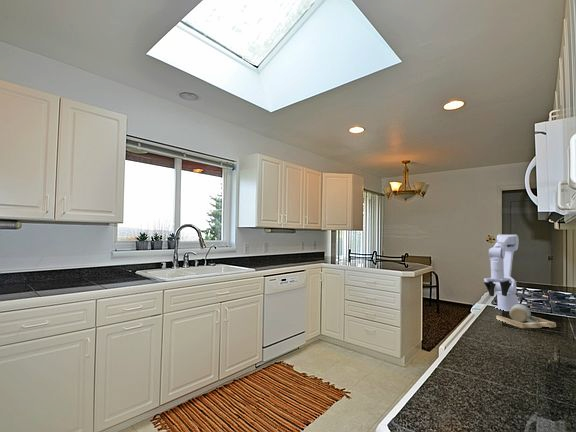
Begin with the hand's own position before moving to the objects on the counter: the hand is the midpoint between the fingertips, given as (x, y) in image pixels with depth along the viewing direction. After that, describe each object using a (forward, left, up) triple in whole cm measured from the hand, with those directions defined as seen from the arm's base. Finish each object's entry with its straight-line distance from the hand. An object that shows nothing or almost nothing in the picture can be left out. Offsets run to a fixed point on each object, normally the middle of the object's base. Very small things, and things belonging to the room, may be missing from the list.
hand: (498, 295), depth 159 cm
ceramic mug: (0, +15, -10) cm, 18 cm away
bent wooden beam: (+2, +17, -9) cm, 20 cm away
